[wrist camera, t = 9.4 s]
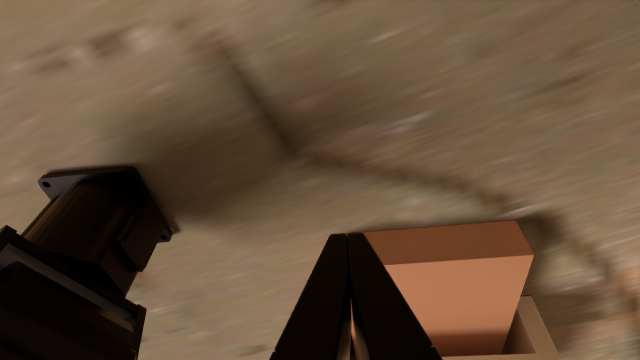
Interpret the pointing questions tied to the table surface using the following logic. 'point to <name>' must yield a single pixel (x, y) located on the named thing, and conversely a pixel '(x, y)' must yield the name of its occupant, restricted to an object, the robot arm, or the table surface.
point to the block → (458, 281)
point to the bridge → (521, 337)
